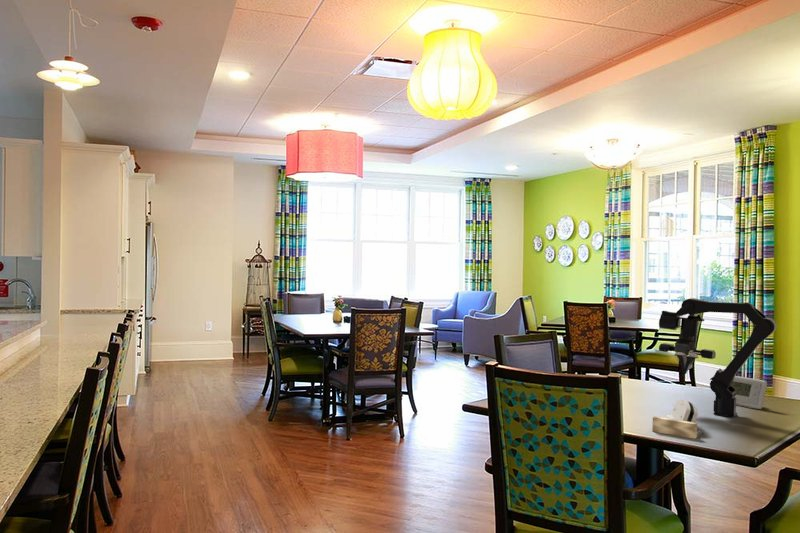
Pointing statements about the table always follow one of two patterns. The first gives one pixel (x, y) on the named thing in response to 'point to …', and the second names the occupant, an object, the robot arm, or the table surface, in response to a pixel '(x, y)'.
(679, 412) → the pale rounded upright slab
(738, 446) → the table surface
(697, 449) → the table surface
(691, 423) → the board
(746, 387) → the digital clock
